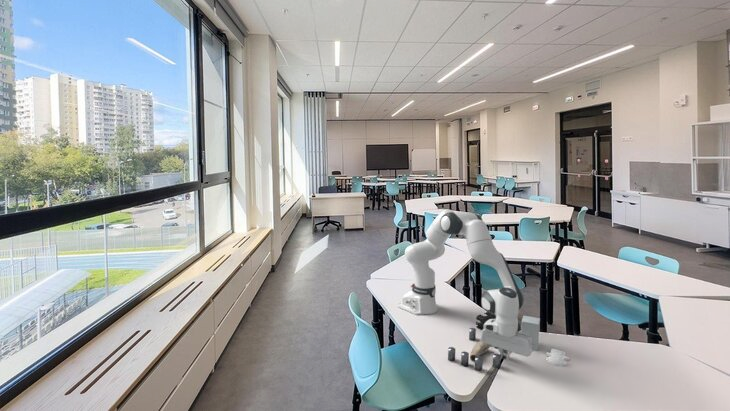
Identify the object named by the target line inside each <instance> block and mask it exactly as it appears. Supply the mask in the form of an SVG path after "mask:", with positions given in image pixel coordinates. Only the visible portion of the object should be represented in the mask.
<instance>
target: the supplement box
mask: <svg viewBox="0 0 730 411" xmlns="http://www.w3.org/2000/svg"><path fill="white" fill-rule="evenodd" d="M540 323H541V318H540V317H534V316H530V315H529V316H528V315H523V316H522V319H521V325H520V331H521V332H524V333H528V334H529V335H530V336H531V337H532V339H533V341H532V344H531V345H532V351H538V346H539V338H540V325H541V324H540Z"/></svg>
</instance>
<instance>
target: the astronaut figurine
mask: <svg viewBox="0 0 730 411" xmlns="http://www.w3.org/2000/svg"><path fill="white" fill-rule="evenodd" d="M546 356H547V357H546V358H545V360H546V361H547V362H548V363H550V364H551V365H552V366H556V367H564V366H565V367H566V366H567V365H568V363H567V361H570V358H569V357H568V356H566V352H565V351H564V350H563V351H561V350H559V349H555V348H551V349H550V352H548V351H547V352H546Z"/></svg>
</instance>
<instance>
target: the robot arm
mask: <svg viewBox="0 0 730 411" xmlns="http://www.w3.org/2000/svg"><path fill="white" fill-rule="evenodd" d="M451 235H452V236H454V235H458V236H464V238H465V240H466V246H467V249H468V253H469V256H470V257H471V258H472V259H473V260H474V261H475V262H477V263H479V264H482V265H487V266H489V267H491V268H493V269H495V271H496V273H497V274H498V276H499V278H500V281H501V283H502V286H503V287H500V288H496V289H489V290H484V291H483V292H482V294H481V297H480V305H481V307H482V309H483V310H484V311H486V312H489V313H491V314H495V315H496V319H489V320H488V321H486V322H485V324H484V329H483V330H481V335H480V341H482V342H483V343H485V344H488V345H490V347H491V346H492V347H493V348H495V347H498V348H499V349H497V350H498V351H499V353H500V354H501V359H503V360H506V361H509V359H510V355H511V354H512V353H514V354H517V355H520V356H523V357H527V358H528V357H530V356H531V355H532V352H533V350H532V345H531V344H532V341H533V339H532V337H531V336H530V335H529V334H528V333H524V332H521V330H519V320H518V316H519V312H520V310H521V308H522V307H523V305H524V302H525V297H524V295H523V293H522V291H521V289H520V288H519V286H518V285H517V282H516V280H515V277H514V276H513V274H512V271H511V269H510V267H509V264H508V262H507V260H506V258H505V257H504V255H503V253H501V252H499V251H498V249H497V248H496V247H495V245H494V242H493V240H492V239H493V238H492V236H491V233H490V231H489V228H488V226H487V224H486V222H484V221H483V218H482V216H481V215H480V214H477V213H475V212H468V211H467V212H466V211H454V210H452V209H450V208H448V209H447V208H446V209H443V210H442V211H441V212H439V214H438V215H437V216H436V217H435V218H434V220H433V221H432V222H431V224H430V225H429V226H428V228H427V230H426V232H425V237H426V239H425V240H423V241H420V242H415V243H412V244H411V245H408V246H407V247H406V248H405V250H404V257H405V260H406V261H407V262H408V263H409V264H410V265H411V267H412V268H413V272H414V283H412V284H411V285H410V288H412V289H410V290H409V291H407V292H405V294H403V296H402V298H401V301H399V302H398V304H397V307H398V308H399V309H401V310H404V311H406V312H409V313H411V314H413V315H415V316H419V315H431V314H434V313H436V312H438V307H437V302H436V289H437V288H436V283H435V282H436V272H435V270H433V268H431V267H430V264H429V262H430V261H433V260H436V259H438V258H440V257H442V256H443V255H444V254H445V251H446V248H445V242H446V241H447V240H448V238H449V237H450V236H451ZM503 349H504V350H507V353H508V354H506V353H504V352H503Z"/></svg>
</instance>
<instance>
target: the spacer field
mask: <svg viewBox="0 0 730 411" xmlns="http://www.w3.org/2000/svg"><path fill="white" fill-rule="evenodd" d="M476 337H477V329H476V327H470V328H468V339H469V341H471V342H472V341H474V342H475V341H476V340H477V338H476ZM494 348H495V349H497V350H498V349H499V348H498V347H494ZM447 351H448V352H447V356H448V357H447V360H448V361H449V362H453V363H454V362H455V361H456V348H455V347H453V346H450V347H448V348H447ZM503 352H504V353H506V354H508V353H507V350H504V349H503ZM460 353H461V355H460V356H461V359H460V360H461V361H460V365H461V366H463V367H468V366H469V362H470V361H469V358H470V355H469V353H470V352H467V351H461V352H460ZM474 358H475V360H474V371H476V372H483V363H484V362H483V361H484V360H483V359H484V358H483V357H482V356H481V355H480V356H476V357H475V356H474ZM501 359H502V358H501V354H499V353H497V352H496V353H493V354H492V368H494V369H500V368H501Z"/></svg>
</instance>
